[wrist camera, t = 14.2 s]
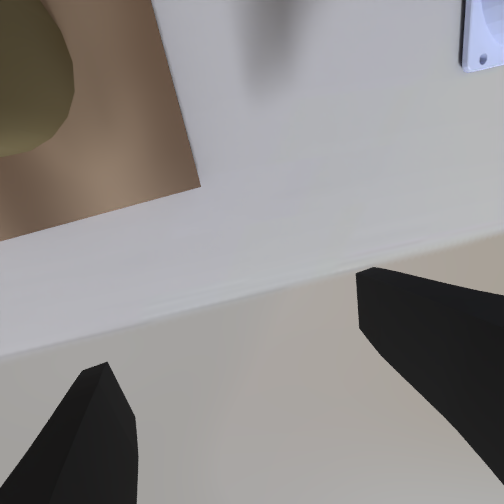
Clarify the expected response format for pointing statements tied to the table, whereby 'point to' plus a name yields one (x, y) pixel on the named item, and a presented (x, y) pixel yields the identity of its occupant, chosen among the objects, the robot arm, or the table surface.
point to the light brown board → (103, 125)
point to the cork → (31, 76)
